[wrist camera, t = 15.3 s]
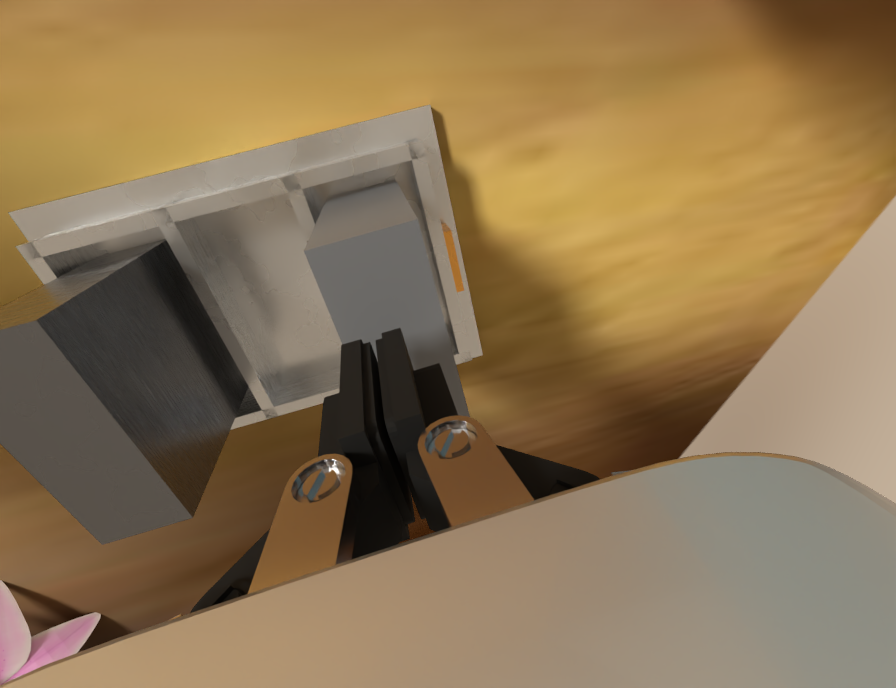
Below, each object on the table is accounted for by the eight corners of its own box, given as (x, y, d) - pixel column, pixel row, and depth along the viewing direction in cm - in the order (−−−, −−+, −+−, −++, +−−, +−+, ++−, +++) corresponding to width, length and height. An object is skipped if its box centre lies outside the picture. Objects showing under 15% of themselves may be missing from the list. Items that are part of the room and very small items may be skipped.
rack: (18, 210, 18) (-283, 288, 10) (428, 105, 19) (481, 92, 10) (179, 436, 24) (84, 602, 16) (480, 350, 25) (539, 464, 17)
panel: (327, 197, 19) (303, 251, 11) (395, 179, 19) (417, 218, 12) (380, 345, 23) (390, 460, 15) (436, 329, 23) (474, 434, 16)
